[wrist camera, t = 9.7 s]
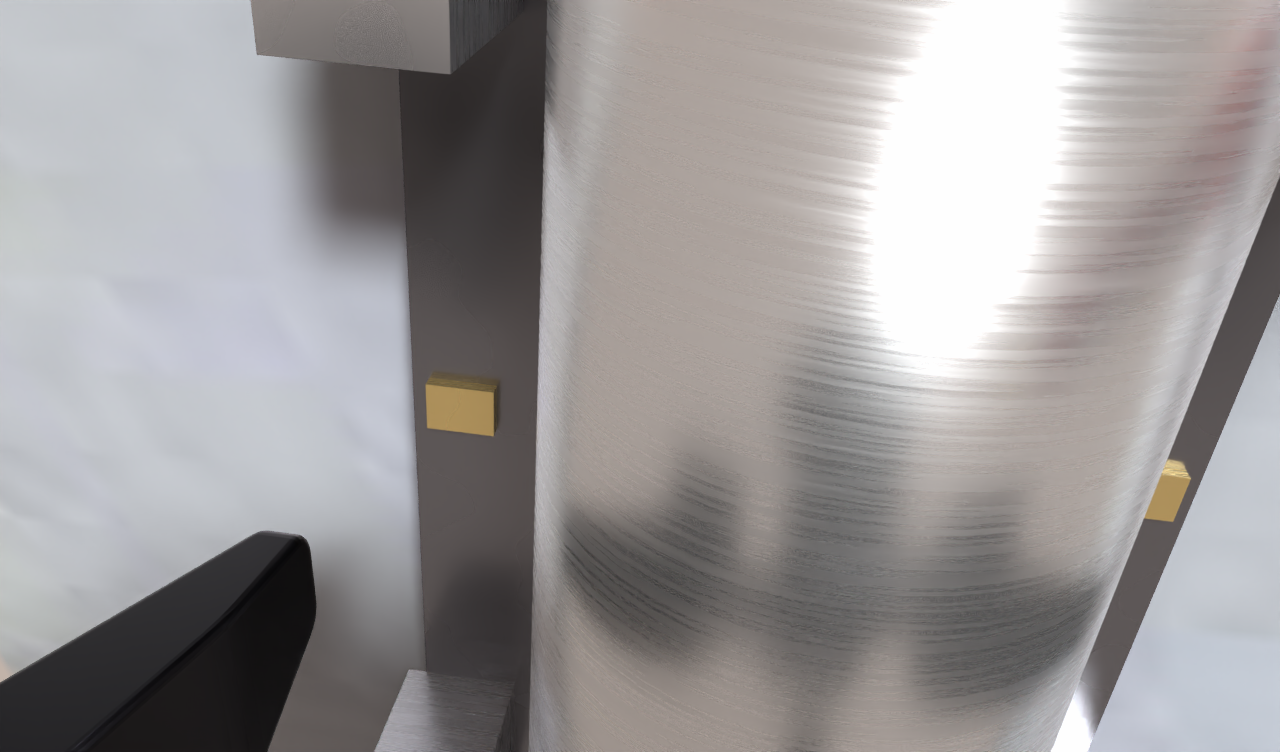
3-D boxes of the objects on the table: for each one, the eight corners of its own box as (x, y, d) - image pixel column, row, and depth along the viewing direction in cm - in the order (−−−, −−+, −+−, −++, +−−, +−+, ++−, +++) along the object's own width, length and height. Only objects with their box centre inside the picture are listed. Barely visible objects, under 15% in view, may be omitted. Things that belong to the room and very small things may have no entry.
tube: (631, -447, 8) (438, -715, 4) (1293, -405, 8) (1919, -651, 3) (562, 847, 16) (475, 1233, 12) (885, 900, 16) (918, 1321, 11)
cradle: (989, 938, 17) (1033, 1179, 14) (439, 853, 18) (371, 1066, 15) (1652, -701, 7) (2246, -1033, 4) (372, -760, 8) (127, -1085, 5)
